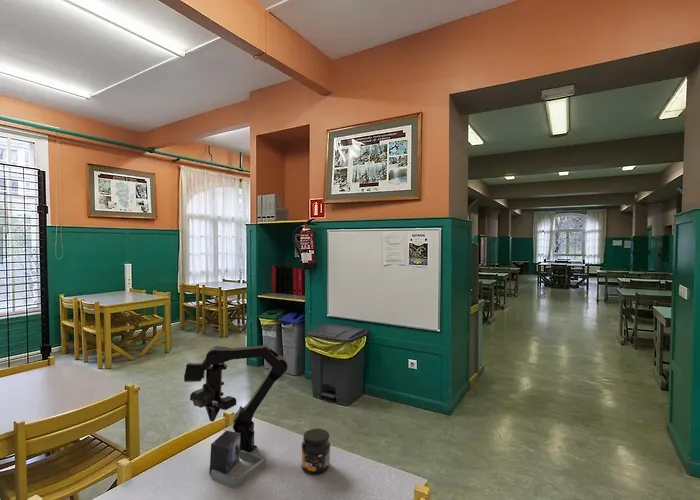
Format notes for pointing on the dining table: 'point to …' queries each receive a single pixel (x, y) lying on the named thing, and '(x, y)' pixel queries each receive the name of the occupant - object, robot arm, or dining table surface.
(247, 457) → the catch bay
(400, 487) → the dining table surface
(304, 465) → the supplement container
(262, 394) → the robot arm
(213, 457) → the small box
